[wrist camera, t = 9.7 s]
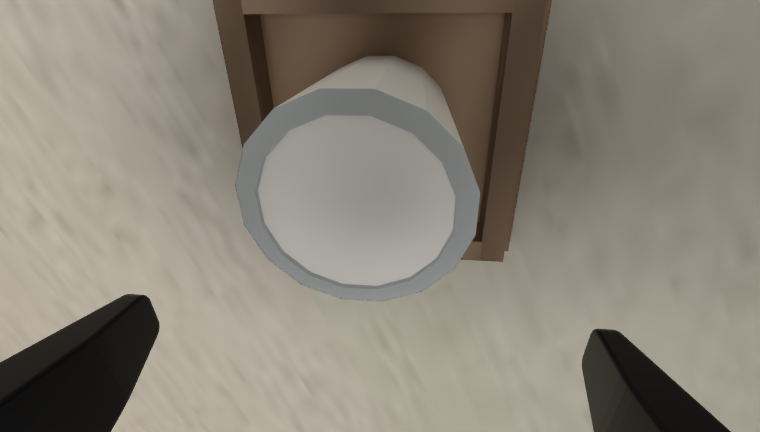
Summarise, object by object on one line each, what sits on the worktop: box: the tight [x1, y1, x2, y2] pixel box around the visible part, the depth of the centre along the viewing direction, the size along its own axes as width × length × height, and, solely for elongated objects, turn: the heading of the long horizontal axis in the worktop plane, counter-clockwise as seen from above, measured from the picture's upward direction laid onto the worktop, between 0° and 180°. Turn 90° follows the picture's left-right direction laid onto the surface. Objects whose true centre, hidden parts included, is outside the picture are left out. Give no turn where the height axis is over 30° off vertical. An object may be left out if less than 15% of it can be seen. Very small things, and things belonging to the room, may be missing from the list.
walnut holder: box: [213, 0, 552, 262], centre depth 17 cm, size 12×12×2 cm
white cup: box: [235, 56, 480, 301], centre depth 15 cm, size 7×7×7 cm
